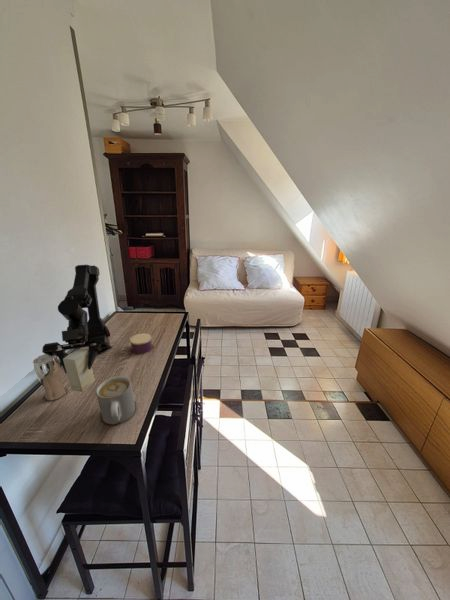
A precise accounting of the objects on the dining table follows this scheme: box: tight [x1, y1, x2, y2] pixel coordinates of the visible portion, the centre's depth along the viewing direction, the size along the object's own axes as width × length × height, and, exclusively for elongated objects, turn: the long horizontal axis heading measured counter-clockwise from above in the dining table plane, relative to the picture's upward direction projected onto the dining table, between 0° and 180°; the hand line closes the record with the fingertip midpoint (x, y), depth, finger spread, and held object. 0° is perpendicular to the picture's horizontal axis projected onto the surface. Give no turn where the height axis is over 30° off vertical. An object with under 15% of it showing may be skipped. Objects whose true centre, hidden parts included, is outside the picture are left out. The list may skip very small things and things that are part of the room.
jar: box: [129, 332, 153, 354], centre depth 116 cm, size 9×9×6 cm
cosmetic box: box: [63, 348, 96, 393], centre depth 81 cm, size 6×4×12 cm
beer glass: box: [32, 353, 67, 401], centre depth 86 cm, size 7×7×15 cm
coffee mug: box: [95, 376, 136, 425], centre depth 77 cm, size 13×10×10 cm
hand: (78, 371), depth 80 cm, fingers closed on cosmetic box, 6 cm apart
